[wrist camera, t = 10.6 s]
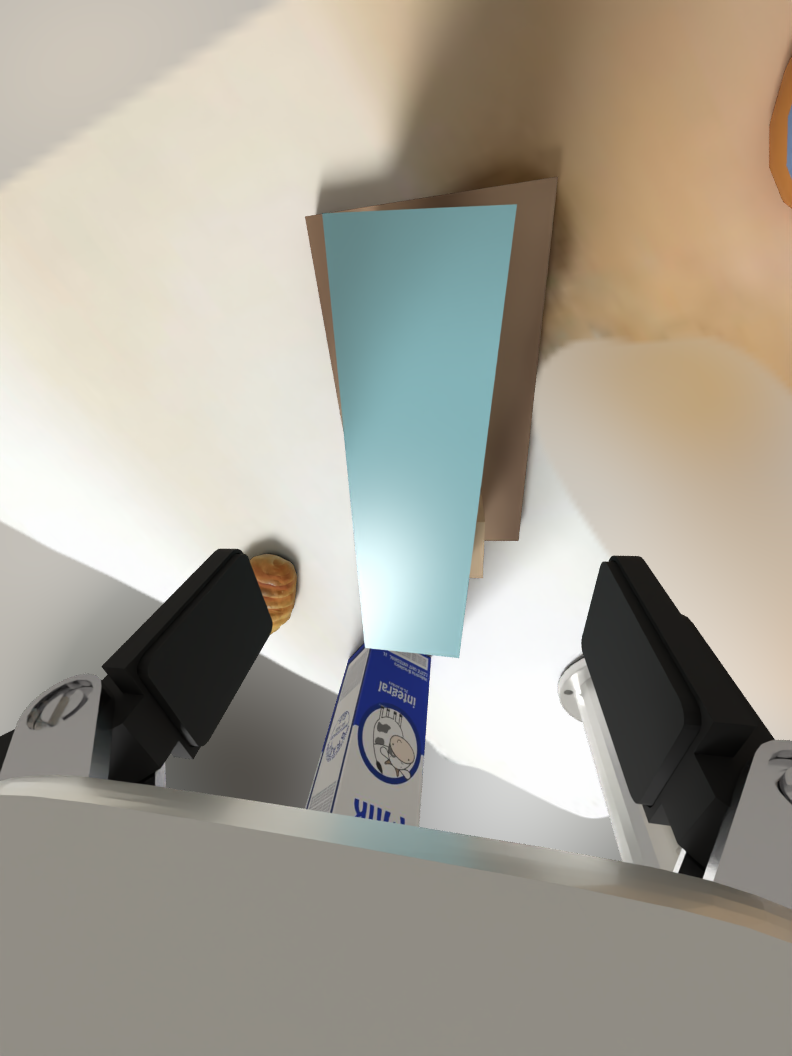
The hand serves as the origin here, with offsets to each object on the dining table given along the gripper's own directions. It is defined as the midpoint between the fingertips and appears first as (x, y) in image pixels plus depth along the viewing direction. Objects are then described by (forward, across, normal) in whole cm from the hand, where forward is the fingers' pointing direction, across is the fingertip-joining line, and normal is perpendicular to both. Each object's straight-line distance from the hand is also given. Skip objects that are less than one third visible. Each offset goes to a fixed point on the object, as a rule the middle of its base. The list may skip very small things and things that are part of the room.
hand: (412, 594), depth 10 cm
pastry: (+18, +18, +16) cm, 30 cm away
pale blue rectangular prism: (+10, 0, -1) cm, 10 cm away
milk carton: (+18, +7, +26) cm, 32 cm away
